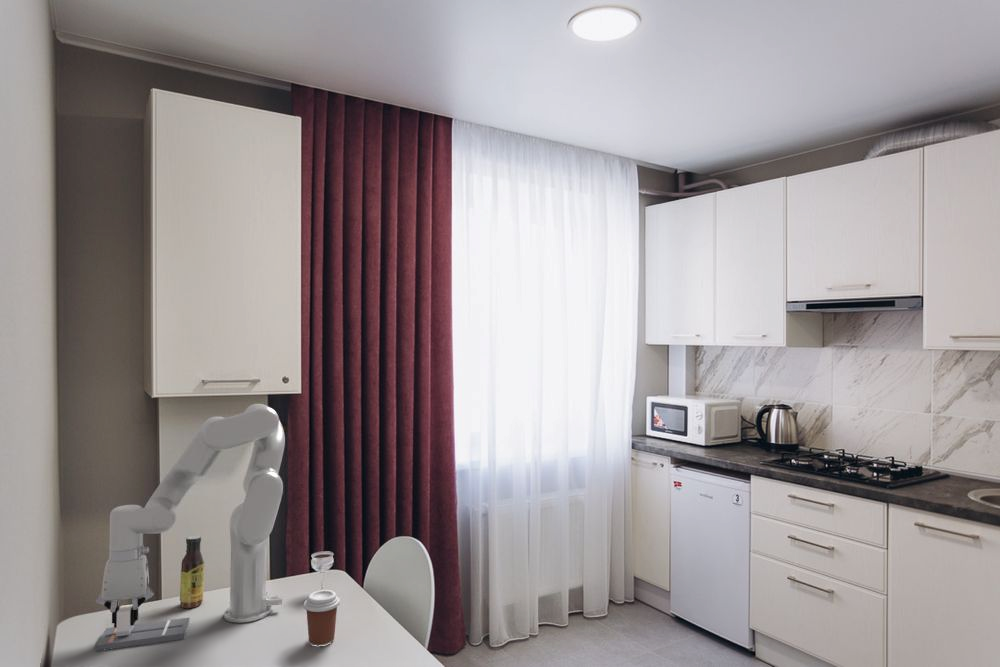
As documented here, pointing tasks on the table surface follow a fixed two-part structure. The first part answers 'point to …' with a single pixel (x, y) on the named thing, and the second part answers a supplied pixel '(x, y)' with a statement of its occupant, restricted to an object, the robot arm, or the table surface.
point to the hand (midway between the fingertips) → (125, 623)
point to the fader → (124, 620)
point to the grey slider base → (145, 634)
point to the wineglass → (322, 562)
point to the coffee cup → (321, 616)
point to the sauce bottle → (192, 574)
